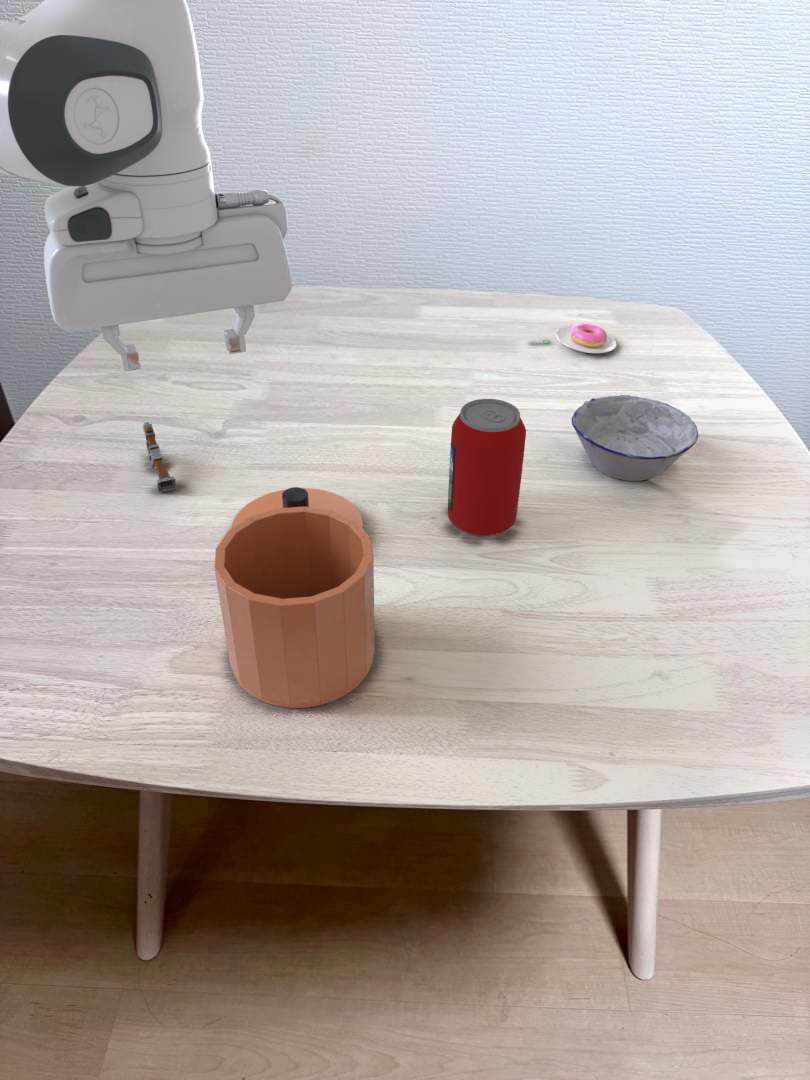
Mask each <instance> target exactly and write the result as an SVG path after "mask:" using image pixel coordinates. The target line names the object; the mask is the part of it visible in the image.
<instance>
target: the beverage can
mask: <svg viewBox="0 0 810 1080" xmlns="http://www.w3.org/2000/svg"><path fill="white" fill-rule="evenodd" d="M526 439H527V429H526V426H525V424H524V422H523V420H522V418H521V411H520V410H519V409H518V408H517V406H515V405H514V404H512V403H510V402H508V401H505V400H502V399H497V398H479V399H474V400H471V401H468V402H467V403H465V404H464V405H462V406H461V409H460V412H459V414H458V415H457V416H456V418H455V419H454V421H453V423H452V425H451V434H450V448H449V449H450V451H449V469H448V489H447V490H448V491H447V518H448V520H449V522H450V523H451V524H452V525H453V526H454V527H455V528H457V529H458V530H460V531H462V532H464V533H466V534H468V535H469V534H470V535H472V536H477V537H489V536H494V535H498V534H502V533H504V532H507V531H508V530H509V529H511V528H512V527H513V526H514V524H515V523H516V521H517V516H518V507H519V501H520V492H521V482H522V476H523V475H522V474H523V467H524V457H525V447H526Z"/></svg>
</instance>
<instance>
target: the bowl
mask: <svg viewBox="0 0 810 1080" xmlns="http://www.w3.org/2000/svg"><path fill="white" fill-rule="evenodd" d="M571 425H572V427H573V429H574V431H575V433H576V435H577V437H578V439H579V441H580V443H581V445H582V448H583V449H584V451H585V453H586V455H587V456H588V459H589V460H590V463H591V464H592V465H593V467H595V469H596V470H598V471H600V472H601V473H603V474H604V475H606V476H609V477H611V478H614V479H617V480H622V481H630V482H633V481H634V482H640V481H646V480H652V479H655V478H656V477H659V476H660V475H662V474H663V473H664V472H665V471H666V470H668V468H669V467H671V466H672V465H673V464H674V463H675V462H676V461H677V460H678V459H679V458H681V457H682V456H683V455H684V454H685V453H687V452H688V451H690V449H692V447H694V445H695V444H696V443H697V441H698V439H699V430H698V427H697V424H696V422H695V421H694V420H693V419H692V418H691V417H690V415H689V416H688V415H687V414H686V413H684V411H682V410H680V409H678V408H677V407H674V406H672V405H670V404H668V403H666V402H663V401H660V400H656V399H651V398H646V397H639V396H633V395H630V394H620V395H609V396H601V397H597V398H594V397H593V398H591V399H590V400H586V401H584V402H583V404H582V405H581V406H579V407H578V408H577V409H576V410H575V411H574V413H573V415H572V416H571Z"/></svg>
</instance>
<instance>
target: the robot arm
mask: <svg viewBox="0 0 810 1080" xmlns="http://www.w3.org/2000/svg"><path fill="white" fill-rule="evenodd" d="M17 20H18V21H8V20H0V174H3V175H7V176H11V177H14V178H19V179H24V180H28V181H29V180H30V181H34V182H40V183H44V184H48V185H52V186H56V187H57V186H58V187H67V188H65V189H62V190H60V191H57V192H55V193H53V194H51V195H50V196H48V197H47V198H46V199H45V203H44V217H45V221H46V226H47V227H48V230H49V234H48V236H47V237H46V239H45V243H44V246H43V262H44V263H43V264H44V275H45V283H46V290H47V297H48V302H49V306H50V311H51V316H52V319H53V322H54V324H56V325H57V326H58V327H59V328H61V329H62V330H63V331H65V332H68V333H69V332H71V333H73V332H79V331H85V330H91V329H99V328H100V332H101V334H102V337H103V340H104V341H105V342H106V343H107V344H108V345H109V346H110V347H111V348H112V349H113V350H114V351H115V352H116V353H117V354H118V356H119V360H120V364H121V367H122V371H123V372H130V371H136V370H140V369H141V362H140V357H139V356H140V355H139V352H138V350H137V347H136V345H135V343H130V344H125V343H124V342H123V341H122V340H121V338H120V335H121V333H120V328H119V325H126V324H133V323H140V322H147V321H153V320H160V319H168V318H174V317H175V318H176V317H181V316H189V315H195V314H201V313H210V312H215V311H223V310H231V309H234V311H235V313H236V314H237V316H236V319H235V321H234V323H233V325H232V328H229V329H224V330H223V334H224V338H225V341H224V342H225V343H224V344H225V349H226V350H227V352H228V355H234V354H241V353H245V352H246V351H247V347H246V346H247V345H246V338H245V336H247V334H248V331H249V329H250V327H251V325H252V322H253V321H254V319H255V317H256V315H255V306H258V305H265V304H273V303H278V302H279V303H280V302H283V301H285V300H286V299H288V296H289V295H290V294H291V291H292V289H293V284H292V274H291V267H290V263H289V257H288V253H287V249H286V244H285V241H284V239H285V238H286V236H287V232H288V229H289V228H288V214H287V213H288V212H287V208H286V206H285V203H284V202H283V201H282V199H280V198H279V197H278V196H276V195H274V194H271V193H269V192H268V190H265V189H264V190H263V189H256V190H255V189H254V190H251V192H226V193H217V194H216V191H215V181H214V173H213V165H212V155H211V151H210V149H209V146H208V144H207V142H206V138H205V135H204V132H203V125H202V123H203V122H202V116H203V106H204V89H203V82H202V81H203V80H202V73H201V66H200V64H201V63H200V57H199V51H198V46H197V39H196V35H195V30H194V26H193V20H192V17H191V13H190V9H189V7H188V3H187V0H43V1H42V2H41V3H40V4H38V5H37V6H35V8H33V9H32V10H30V11H28V13H25V14H23V15H22V16H20V17H18V18H17Z"/></svg>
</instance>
